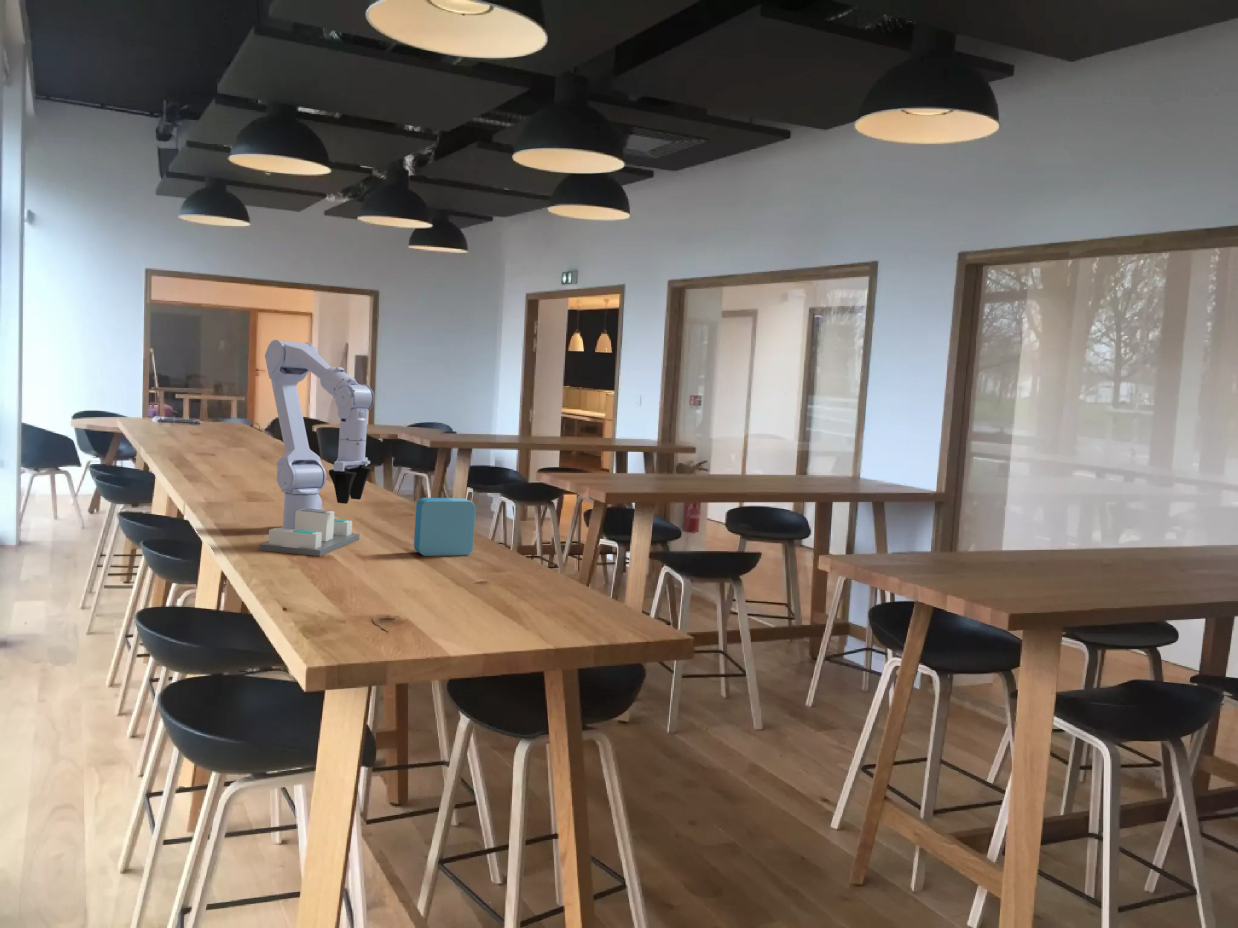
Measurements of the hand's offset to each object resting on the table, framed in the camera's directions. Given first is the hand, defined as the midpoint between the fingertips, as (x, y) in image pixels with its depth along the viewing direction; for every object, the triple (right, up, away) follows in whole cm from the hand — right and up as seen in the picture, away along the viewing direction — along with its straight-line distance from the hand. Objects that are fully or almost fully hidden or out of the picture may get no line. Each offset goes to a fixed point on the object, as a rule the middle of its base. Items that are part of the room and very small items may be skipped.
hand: (349, 501), depth 212 cm
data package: (+21, -12, -2) cm, 24 cm away
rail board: (-7, -9, -4) cm, 12 cm away
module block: (-7, -8, -4) cm, 11 cm away
